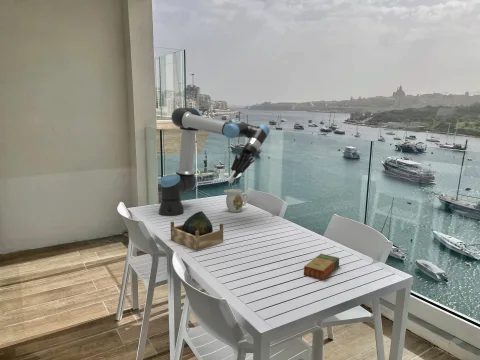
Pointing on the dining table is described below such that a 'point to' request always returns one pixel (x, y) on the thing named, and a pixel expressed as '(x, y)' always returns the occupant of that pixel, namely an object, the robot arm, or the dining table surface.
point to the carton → (321, 266)
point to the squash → (198, 224)
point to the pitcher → (235, 199)
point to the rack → (196, 237)
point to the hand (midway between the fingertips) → (229, 181)
